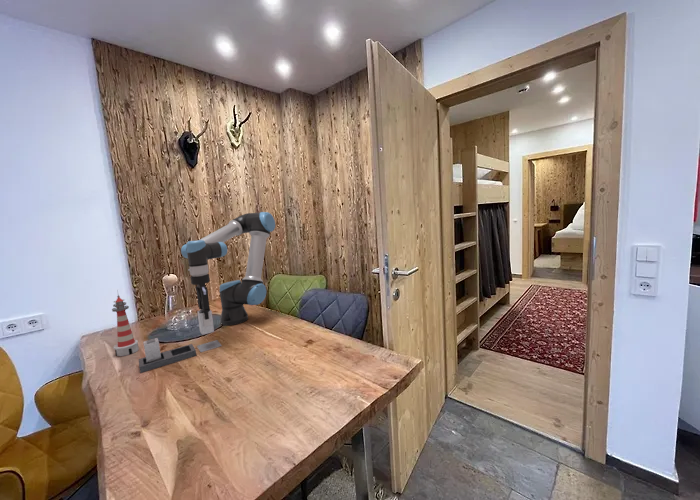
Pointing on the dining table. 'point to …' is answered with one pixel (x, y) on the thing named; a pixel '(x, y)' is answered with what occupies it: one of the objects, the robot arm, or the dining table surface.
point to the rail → (168, 358)
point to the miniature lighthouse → (123, 331)
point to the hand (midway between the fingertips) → (206, 324)
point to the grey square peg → (201, 324)
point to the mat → (209, 346)
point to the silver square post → (152, 350)
